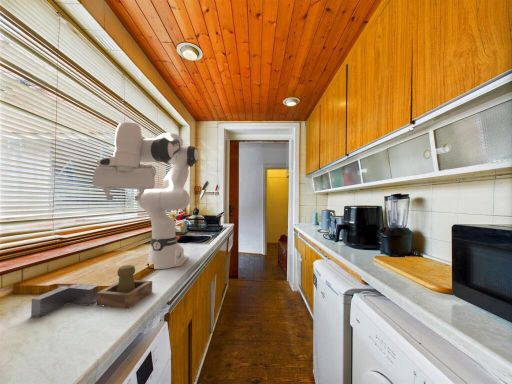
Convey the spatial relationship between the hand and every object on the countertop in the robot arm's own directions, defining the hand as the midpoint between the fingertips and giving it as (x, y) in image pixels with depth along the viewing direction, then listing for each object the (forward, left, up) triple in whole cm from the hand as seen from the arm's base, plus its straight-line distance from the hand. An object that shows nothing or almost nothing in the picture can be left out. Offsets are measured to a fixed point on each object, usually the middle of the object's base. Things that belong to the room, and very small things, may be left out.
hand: (123, 200), depth 79 cm
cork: (+4, +5, -34) cm, 34 cm away
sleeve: (+4, +5, -33) cm, 34 cm away
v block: (+11, -10, -34) cm, 37 cm away
